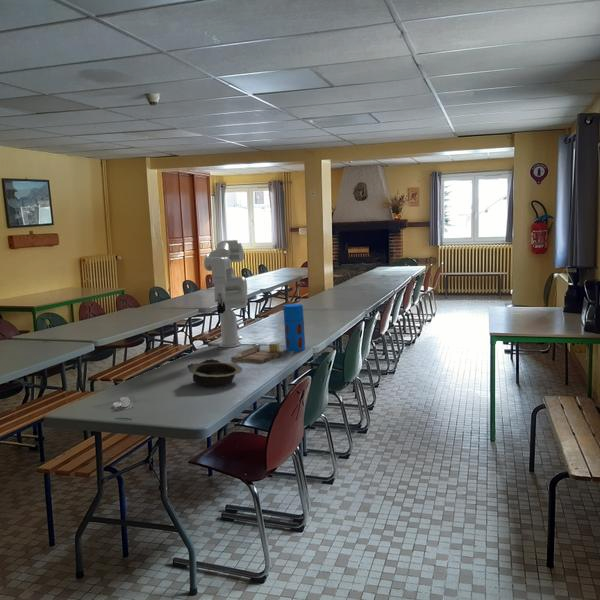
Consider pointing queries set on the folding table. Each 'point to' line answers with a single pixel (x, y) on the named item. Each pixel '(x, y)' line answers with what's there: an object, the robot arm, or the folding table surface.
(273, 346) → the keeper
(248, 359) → the plate
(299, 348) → the thermos
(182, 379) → the folding table surface
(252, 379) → the folding table surface
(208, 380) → the brown round bowl
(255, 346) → the lock bar
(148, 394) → the folding table surface
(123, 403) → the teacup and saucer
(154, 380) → the folding table surface
